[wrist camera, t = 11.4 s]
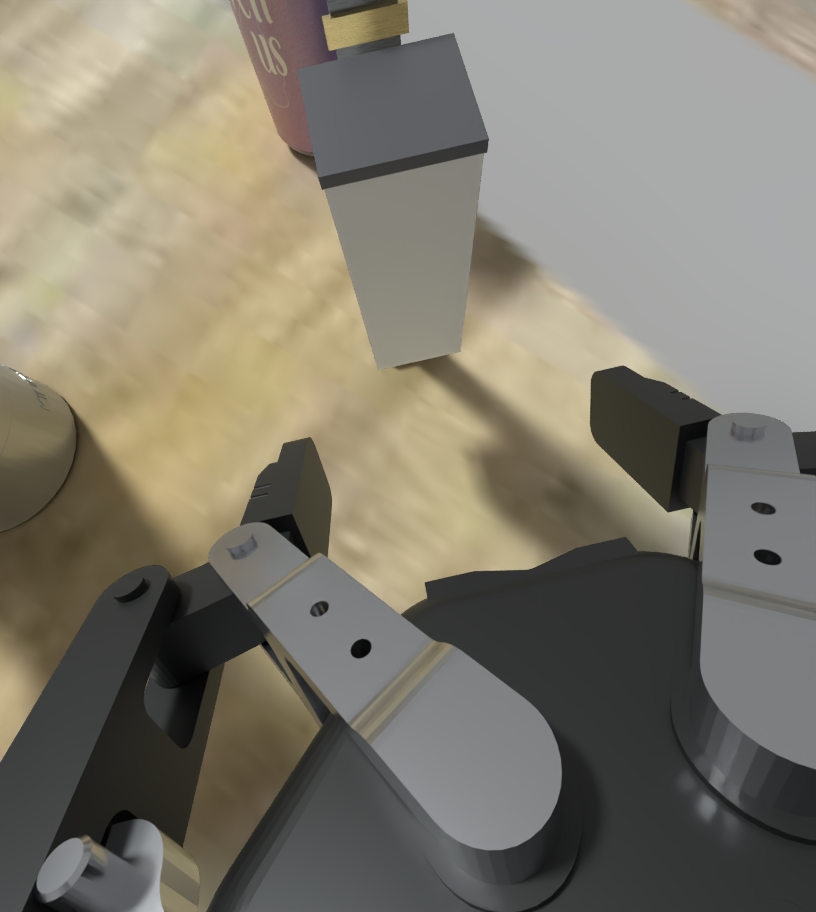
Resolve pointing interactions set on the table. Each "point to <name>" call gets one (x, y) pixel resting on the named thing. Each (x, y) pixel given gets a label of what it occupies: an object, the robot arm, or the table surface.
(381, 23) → the rail
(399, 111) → the fader knob
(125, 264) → the table surface
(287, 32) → the beverage can
